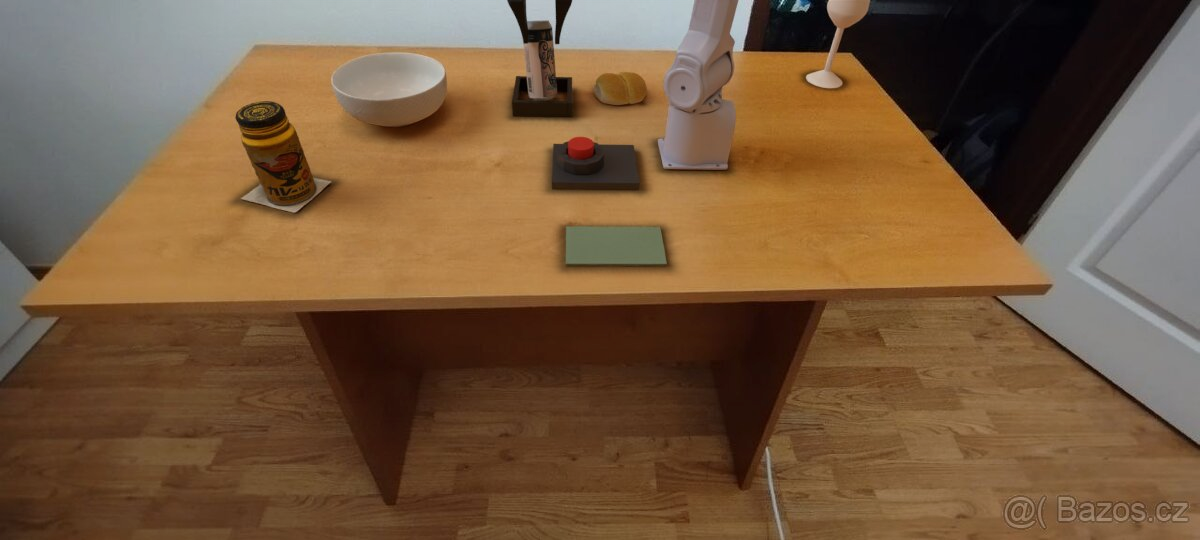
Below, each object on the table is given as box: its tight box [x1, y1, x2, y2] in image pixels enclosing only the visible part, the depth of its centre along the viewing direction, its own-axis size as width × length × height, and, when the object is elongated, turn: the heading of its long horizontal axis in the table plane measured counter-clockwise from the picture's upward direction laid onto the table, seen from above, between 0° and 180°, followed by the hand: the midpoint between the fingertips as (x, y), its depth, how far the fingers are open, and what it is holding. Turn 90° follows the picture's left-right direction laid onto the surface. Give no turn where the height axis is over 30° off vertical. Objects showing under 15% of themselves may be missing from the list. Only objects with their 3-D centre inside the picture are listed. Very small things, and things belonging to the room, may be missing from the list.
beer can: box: [522, 19, 558, 101], centre depth 94 cm, size 5×5×12 cm
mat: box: [565, 225, 668, 267], centre depth 71 cm, size 12×7×1 cm, turn 92°
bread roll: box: [593, 71, 648, 106], centre depth 99 cm, size 8×9×4 cm
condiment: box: [234, 100, 332, 213], centre depth 72 cm, size 7×8×12 cm
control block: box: [551, 140, 640, 191], centre depth 82 cm, size 12×10×3 cm
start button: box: [567, 136, 595, 160], centre depth 81 cm, size 4×4×2 cm
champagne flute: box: [805, 0, 871, 89], centre depth 100 cm, size 7×7×24 cm
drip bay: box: [511, 75, 573, 118], centre depth 96 cm, size 10×10×2 cm
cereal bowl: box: [330, 51, 448, 128], centre depth 90 cm, size 17×17×7 cm
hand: (541, 41), depth 90 cm, fingers open, 4 cm apart
